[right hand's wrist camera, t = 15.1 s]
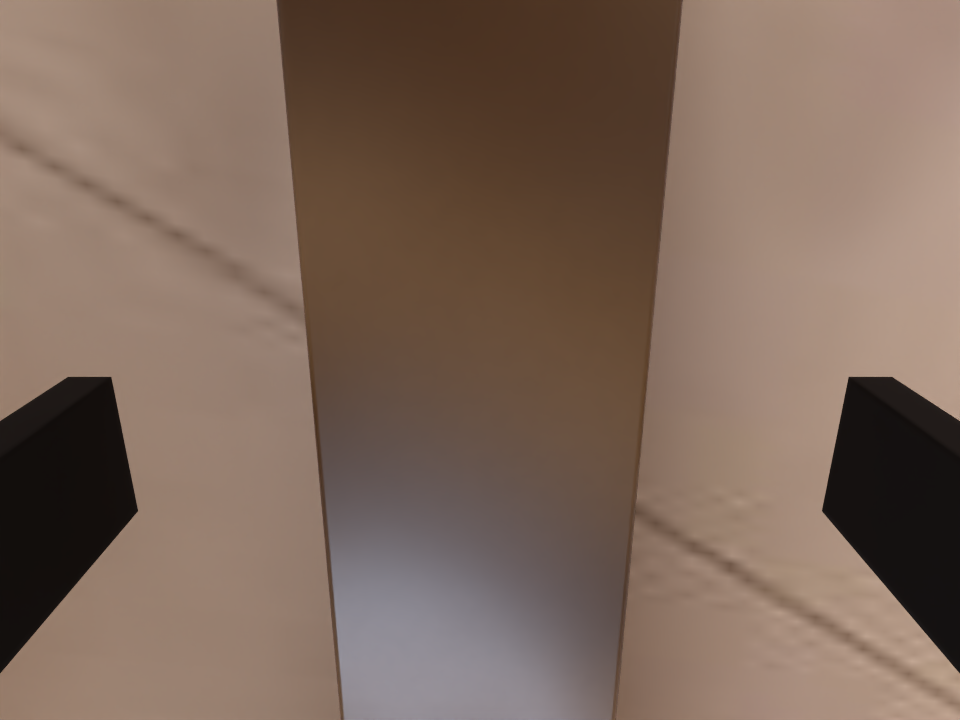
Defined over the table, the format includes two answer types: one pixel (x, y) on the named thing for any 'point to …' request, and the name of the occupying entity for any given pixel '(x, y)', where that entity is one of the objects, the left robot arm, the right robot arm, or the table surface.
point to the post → (479, 336)
